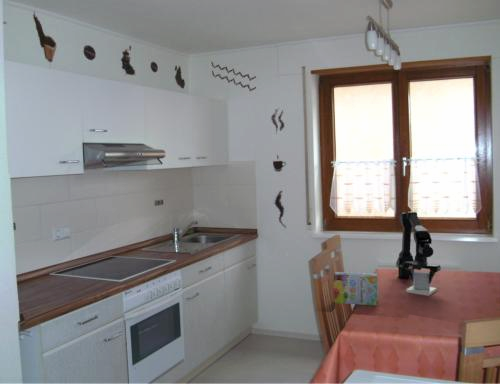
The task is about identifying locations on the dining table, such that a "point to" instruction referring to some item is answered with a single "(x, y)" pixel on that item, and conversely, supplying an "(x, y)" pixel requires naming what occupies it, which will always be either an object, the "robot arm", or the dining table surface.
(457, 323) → the dining table surface
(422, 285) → the medicine box
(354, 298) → the snack box
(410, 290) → the board
